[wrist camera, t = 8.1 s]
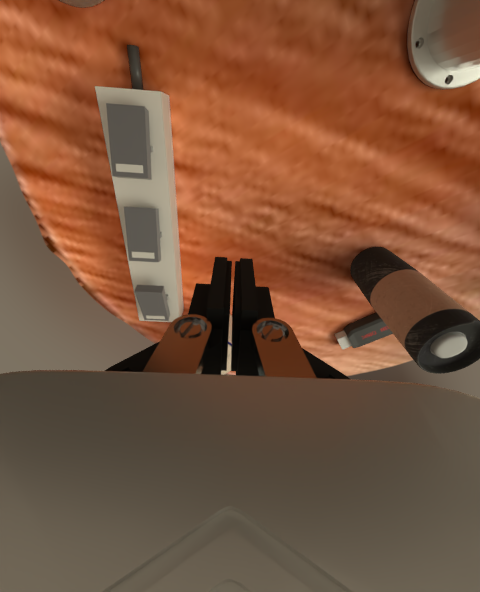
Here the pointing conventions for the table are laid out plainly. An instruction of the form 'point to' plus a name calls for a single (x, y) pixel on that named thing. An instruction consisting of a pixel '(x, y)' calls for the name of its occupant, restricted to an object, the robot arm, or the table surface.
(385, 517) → the robot arm
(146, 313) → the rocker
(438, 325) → the travel mug
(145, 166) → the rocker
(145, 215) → the rocker middle
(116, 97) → the power strip
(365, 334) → the usb drive
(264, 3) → the table surface
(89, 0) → the planter
